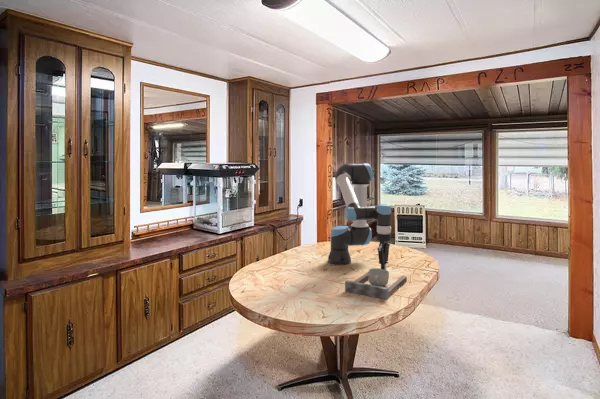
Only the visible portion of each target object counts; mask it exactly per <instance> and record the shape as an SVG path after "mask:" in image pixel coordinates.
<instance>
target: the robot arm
mask: <svg viewBox="0 0 600 399" xmlns="http://www.w3.org/2000/svg"><path fill="white" fill-rule="evenodd" d="M334 175H335V176H334V177H335V182H336V185H338V186H339V189H340V191H341V194H342V198H343V200H344V203H345V209H344V218H345V220H347V221H352V223H351V225H350V227H349V226H348V225H338V226H334V227H331V230H330V234H329V235H330V236H329V237H330V251H329V254H328V258H327V262H328V263H329V264H332V265H339V266H340V265H348V264H350V263H352V258H351V255H350V254H351V253H350V251H349V247H351V246H367V245H369V244H370V243H371V241H372V236H373V232H372V228H371V227H370V226H369V224H368V222H367V221H371V220H373V221H374V220H376V232H377V233H376V240H377V241H379V243H378V247H377V254H378V264H380V269H384V270H387V264H389V262H388V261H389V252H390V245H391V244H390V243H389V242H390V241H392V234H391V233H392V206H391V205H390V204H387V203H384V204H381V203H380V204H377V205H370V206H367V205H368V204H367V203H368V187H369V186H370V184H371V182H372V181H373V178H374V173H373V167H372V166H371V165H370V164H369V163H366V162H361V163H360V162H359V163H358V162H357V163H343V164H342V165H341V166H339V168H337V170H336V172H335V174H334Z"/></svg>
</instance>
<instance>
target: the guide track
mask: <svg viewBox="0 0 600 399" xmlns="http://www.w3.org/2000/svg"><path fill="white" fill-rule="evenodd" d="M368 275H369V271H367V272H366V273H365V274H363V275H361V276H360V277H358V278H357V279H355V280H348V279H347V280H346V281H345V282H344V286H345V287H344V291H345V292H348V293H352V294H353V293H354V294H358V295H363V296H366V297H367V296H368V297H373V298H379V299H383V300H388V299H389V298H390V296H392V295H393V294H394V293H395V292H397V290H398V289H400V288H401V287H402V285H404V284H405V283H406V282H407V280H408V276H407V275H406V276H405V275H402V276H400V277H399V278H398V279H397V280H396V281H394V282H393V283H392V284H390V285H389V287H386V286H383V287H381V286H375V285H372V284H371V283H370V284H368V283H365V282H367V281H369V280H368Z"/></svg>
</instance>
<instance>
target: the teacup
mask: <svg viewBox="0 0 600 399" xmlns="http://www.w3.org/2000/svg"><path fill="white" fill-rule="evenodd" d="M368 272H369V275H368V280H367V281H368V282H369V283H370V285H375V286H381V287H386V285H387V284H388V283H389V278H390V271H389V270H387V269H386V270H384V269H381V268H380V267H379V268H377V267H375V268H370V269H368Z"/></svg>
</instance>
